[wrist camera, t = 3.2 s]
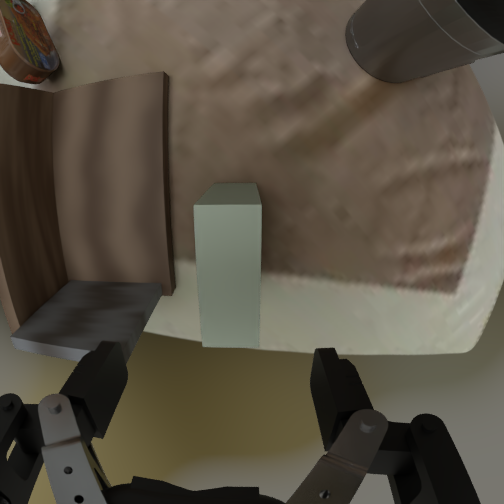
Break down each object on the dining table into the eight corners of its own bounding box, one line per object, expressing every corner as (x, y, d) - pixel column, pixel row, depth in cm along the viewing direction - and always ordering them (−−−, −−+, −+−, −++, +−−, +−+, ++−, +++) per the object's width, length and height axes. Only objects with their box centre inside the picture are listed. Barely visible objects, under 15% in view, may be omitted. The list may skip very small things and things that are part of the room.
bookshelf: (168, 76, 26) (111, 27, 12) (175, 287, 33) (137, 371, 19) (52, 97, 25) (-37, 86, 12) (68, 283, 32) (1, 346, 19)
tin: (68, 75, 25) (23, 61, 17) (49, 93, 25) (2, 85, 17) (35, 2, 20) (-2, -17, 12) (18, 18, 21) (-20, 3, 13)
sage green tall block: (255, 182, 29) (261, 204, 18) (254, 279, 33) (259, 347, 21) (214, 183, 29) (193, 205, 18) (216, 279, 32) (202, 346, 21)
